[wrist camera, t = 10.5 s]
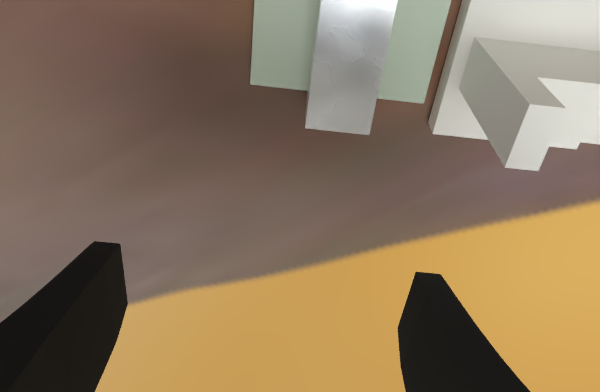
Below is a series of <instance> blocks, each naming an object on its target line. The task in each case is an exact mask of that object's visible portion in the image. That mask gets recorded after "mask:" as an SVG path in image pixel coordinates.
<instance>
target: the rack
mask: <svg viewBox="0 0 600 392" xmlns="http://www.w3.org/2000/svg"><path fill="white" fill-rule="evenodd" d="M428 124H429V126H430V129H431V131H432V134H438V135H448V136H457V137H466V138H476V139H485V140H489V142H490V143H491V145H492V147H493V148H494V150H495V152H496V153H497V155H498V157H499V159H500V160H501V162H502V164H503V165H504V167H506V168H515V169H525V170H534V171H538V170H539V168H540V166H541V164H542V161H543V159H544V157H545V155H546V152H547V150H548V148H549V146H551V147H560V148H569V149H577V148H578V145H579V143H580V142H583V143H592V144H600V0H462V2H461V6H460V10H459V13H458V17H457V20H456V24H455V27H454V31H453V35H452V38H451V42H450V45H449V49H448V53H447V56H446V60H445V63H444V67H443V71H442V74H441V78H440V81H439V85H438V88H437V92H436V96H435V99H434V103H433V106H432V110H431V114H430V117H429V121H428Z"/></svg>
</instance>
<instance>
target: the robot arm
mask: <svg viewBox="0 0 600 392" xmlns="http://www.w3.org/2000/svg"><path fill="white" fill-rule="evenodd" d="M127 304H128V302H127V294H126V286H125V278H124V270H123V262H122V254H121V246H120V244H117V243H106V242H96V241H94V242H93V243H92V244H91V245H89V246H88V247H87V248H86V249H85V250H84V251H83V252H82V253H81V254H80V255H78V256H77V257H76V258H75V259H74V260H73V261H72V262H71V263H70V264H69V265H68V266H67V267H65V268H64V269H63V270H62V271H61V272H60V273H59V274H58V275H57V276H55V277H54V278H53V279H52V280H51V281H50V282H49V283H48V284H46V285H45V286H44V287H43V288H42V289H41V290H40V291H38V292H37V293H36V294H35V295H34V296H33V297H31V298H30V299H29V300H28V301H27V302H26V303H24V304H23V305H22V306H21V307H20V308H18V309H17V310H16V311H15V312H13V313H12V314H11V315H10V316H8V317H7V318H6V319H5V320H3V321H2V322H1V323H0V392H95V390H96V387H97V385H98V383H99V380H100V378H101V376H102V374H103V372H104V369H105V367H106V365H107V362H108V360H109V358H110V355H111V353H112V351H113V348H114V346H115V343H116V341H117V338H118V335H119V331H120V328H121V325H122V321H123V318H124V314H125V311H126V307H127ZM398 337H399V351H400V362H401V369H402V375H403V380H404V385H405V390H406V392H530V391H529V390H528V389H527V387H526V386H525V385H524V384H523V383H522V382H521V381H520V379H519V378H518V377H517V376H516V375H515V374H514V372H513V371H512V370H511V369H510V368H509V366H508V365H507V364H506V363H505V362H504V360H503V359H502V358H501V357H500V356H499V354H498V353H497V352H496V351H495V349H494V348H493V346H492V345H491V344H490V343H489V341H488V340H487V338H486V337H485V336H484V335H483V333H482V332H481V331H480V329H479V328H478V327H477V325H476V324H475V323H474V322H473V320H472V318H471V317H470V316H469V314H468V313H467V311H466V310H465V308H464V307H463V306H462V304H461V303H460V301H459V300H458V298H457V297H456V296H455V294H454V293H453V292H452V290H451V288H450V287H449V286H448V284H447V283H446V281H445V280H444V279H443V277H442V276H441V275H440V274H433V273H422V272H416V273H415V276H414V279H413V282H412V285H411V289H410V292H409V295H408V298H407V301H406V304H405V307H404V310H403V313H402V316H401V319H400V323H399V326H398Z"/></svg>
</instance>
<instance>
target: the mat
mask: <svg viewBox="0 0 600 392" xmlns="http://www.w3.org/2000/svg"><path fill="white" fill-rule="evenodd" d="M450 4H451V0H398V1H397V6H396V10H395V15H394V20H393V25H392V29H391V34H390V39H389V44H388V48H387V53H386V58H385V63H384V68H383V72H382V77H381V82H380V87H379V91H378V96H377V99H387V100H396V101H405V102H414V103H423V104H424V101H425V97H426V93H427V90H428V86H429V82H430V78H431V75H432V71H433V67H434V63H435V60H436V56H437V52H438V49H439V45H440V41H441V37H442V34H443V30H444V26H445V22H446V19H447V15H448V11H449V7H450ZM317 8H318V0H255V2H254V20H253V39H252V58H251V77H250V85H258V86H268V87H277V88H286V89H295V90H304V91H307V89H308V81H309V73H310V65H311V57H312V49H313V41H314V33H315V25H316V17H317Z"/></svg>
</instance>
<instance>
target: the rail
mask: <svg viewBox="0 0 600 392" xmlns="http://www.w3.org/2000/svg"><path fill="white" fill-rule="evenodd" d="M397 1H398V0H318V8H317V17H316V25H315V33H314V41H313V49H312V57H311V65H310V73H309V81H308V89H307V97H306V113H305V128H307V129H317V130H326V131H335V132H345V133H354V134H363V135H369V134H370V130H371V125H372V120H373V115H374V110H375V106H376V101H377V96H378V91H379V87H380V82H381V77H382V72H383V68H384V63H385V58H386V53H387V48H388V44H389V39H390V34H391V29H392V25H393V20H394V15H395V10H396V6H397Z"/></svg>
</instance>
